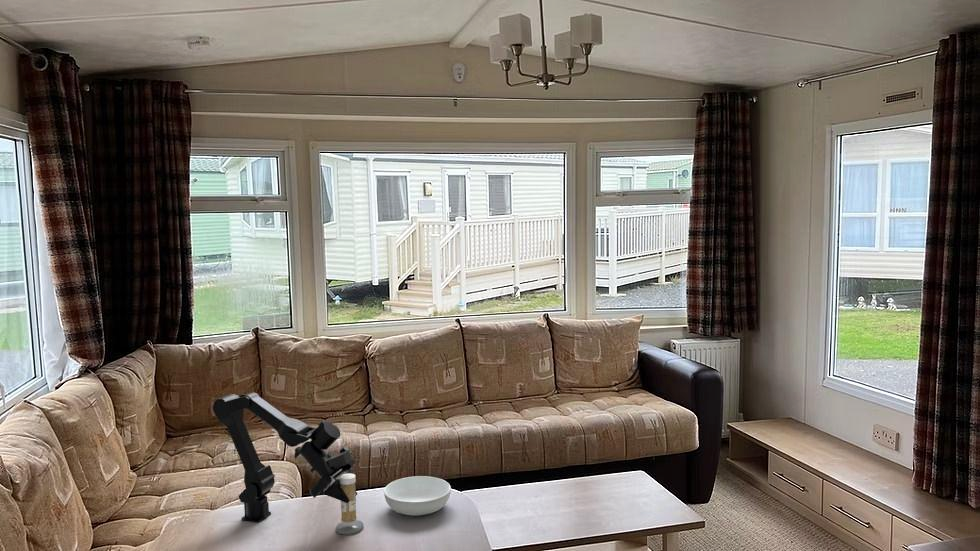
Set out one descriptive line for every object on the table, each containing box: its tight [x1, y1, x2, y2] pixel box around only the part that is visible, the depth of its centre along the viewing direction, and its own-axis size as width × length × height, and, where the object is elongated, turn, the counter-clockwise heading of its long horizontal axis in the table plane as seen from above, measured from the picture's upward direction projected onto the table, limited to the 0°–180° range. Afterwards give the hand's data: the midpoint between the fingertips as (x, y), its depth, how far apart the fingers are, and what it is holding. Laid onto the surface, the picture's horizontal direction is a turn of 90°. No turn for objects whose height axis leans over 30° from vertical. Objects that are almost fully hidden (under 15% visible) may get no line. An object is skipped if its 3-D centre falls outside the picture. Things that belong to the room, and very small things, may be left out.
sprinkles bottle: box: [340, 472, 357, 523], centre depth 198 cm, size 5×5×14 cm
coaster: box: [335, 519, 365, 536], centre depth 198 cm, size 8×8×1 cm
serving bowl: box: [383, 475, 452, 516], centre depth 211 cm, size 21×21×7 cm
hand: (352, 498), depth 197 cm, fingers closed on sprinkles bottle, 4 cm apart
